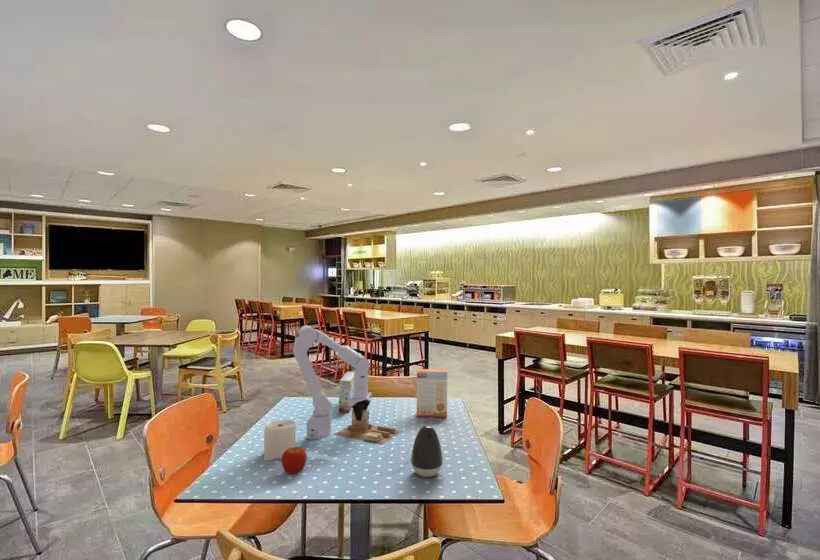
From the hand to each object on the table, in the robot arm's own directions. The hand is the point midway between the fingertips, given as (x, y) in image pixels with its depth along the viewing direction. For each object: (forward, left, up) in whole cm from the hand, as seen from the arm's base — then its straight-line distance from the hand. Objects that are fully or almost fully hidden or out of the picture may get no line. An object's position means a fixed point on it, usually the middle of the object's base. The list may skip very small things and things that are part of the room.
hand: (360, 419), depth 170 cm
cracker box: (+33, -17, -5) cm, 38 cm away
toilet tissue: (-32, +13, -5) cm, 35 cm away
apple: (-41, -1, -5) cm, 41 cm away
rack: (-3, -5, -5) cm, 8 cm away
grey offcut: (-8, -11, -4) cm, 14 cm away
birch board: (0, 0, -4) cm, 4 cm away
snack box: (+26, +25, -5) cm, 36 cm away
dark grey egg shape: (-22, -39, -5) cm, 45 cm away
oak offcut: (-8, -11, -3) cm, 14 cm away
